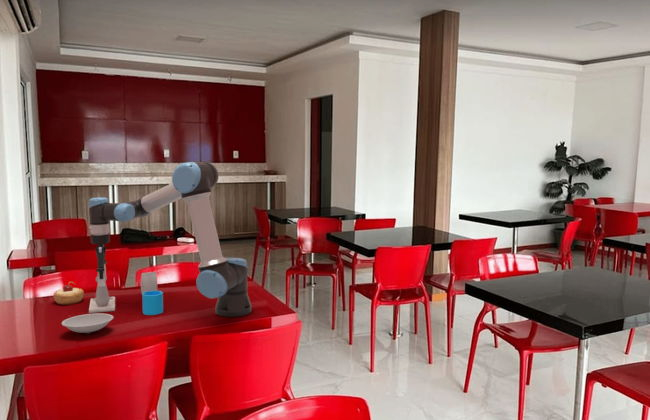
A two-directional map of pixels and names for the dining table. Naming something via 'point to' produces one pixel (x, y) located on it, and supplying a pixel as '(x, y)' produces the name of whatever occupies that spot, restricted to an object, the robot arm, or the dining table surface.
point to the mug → (152, 302)
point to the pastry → (68, 295)
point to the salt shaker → (102, 294)
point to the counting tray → (95, 308)
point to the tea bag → (148, 282)
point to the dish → (87, 322)
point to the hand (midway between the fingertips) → (102, 282)
